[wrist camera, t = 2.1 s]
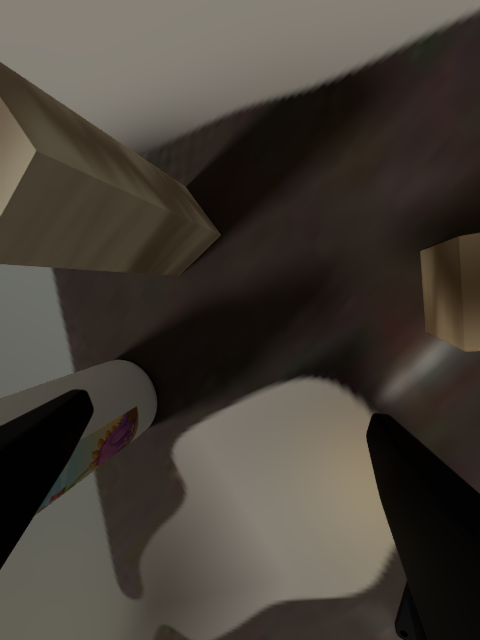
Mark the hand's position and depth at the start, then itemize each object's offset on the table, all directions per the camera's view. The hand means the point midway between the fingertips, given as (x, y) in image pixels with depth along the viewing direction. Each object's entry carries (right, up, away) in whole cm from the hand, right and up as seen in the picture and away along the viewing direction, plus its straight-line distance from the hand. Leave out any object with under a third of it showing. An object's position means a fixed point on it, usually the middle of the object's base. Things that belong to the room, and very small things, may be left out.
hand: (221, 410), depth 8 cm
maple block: (-4, +10, +13) cm, 17 cm away
